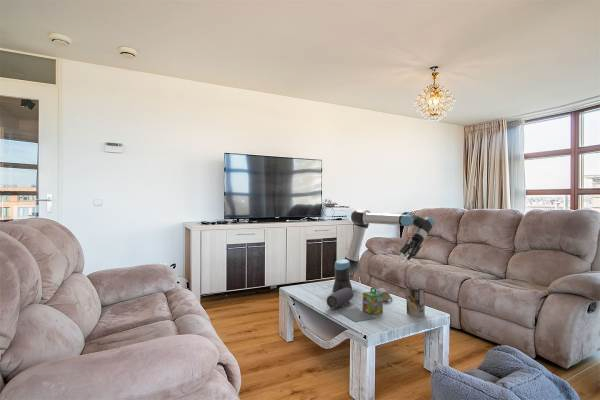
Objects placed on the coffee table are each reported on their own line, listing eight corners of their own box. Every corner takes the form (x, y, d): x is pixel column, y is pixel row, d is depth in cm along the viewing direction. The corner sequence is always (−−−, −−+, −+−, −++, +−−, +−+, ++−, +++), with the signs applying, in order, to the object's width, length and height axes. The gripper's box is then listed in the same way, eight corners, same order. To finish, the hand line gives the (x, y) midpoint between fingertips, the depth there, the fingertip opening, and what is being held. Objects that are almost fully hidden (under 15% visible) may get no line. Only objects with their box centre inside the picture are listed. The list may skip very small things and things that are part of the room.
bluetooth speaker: (342, 299, 225) (342, 285, 225) (354, 302, 220) (354, 287, 220) (325, 309, 207) (325, 293, 207) (338, 311, 201) (338, 295, 201)
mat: (337, 311, 202) (337, 310, 202) (355, 308, 208) (355, 307, 208) (355, 322, 183) (355, 321, 183) (375, 318, 189) (375, 317, 189)
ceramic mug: (381, 302, 219) (381, 291, 219) (375, 298, 227) (375, 287, 227) (394, 301, 222) (395, 290, 222) (388, 297, 230) (388, 287, 230)
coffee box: (425, 315, 193) (425, 288, 194) (420, 318, 189) (419, 291, 189) (411, 311, 200) (411, 286, 200) (406, 314, 196) (405, 287, 196)
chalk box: (362, 310, 203) (362, 287, 203) (373, 308, 207) (372, 285, 207) (372, 315, 195) (372, 291, 195) (383, 312, 199) (383, 288, 199)
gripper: (432, 241, 214) (414, 268, 208) (412, 238, 231) (394, 263, 224) (426, 234, 212) (408, 260, 205) (406, 231, 229) (388, 256, 222)
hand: (401, 262), depth 215 cm, fingers open, 5 cm apart
